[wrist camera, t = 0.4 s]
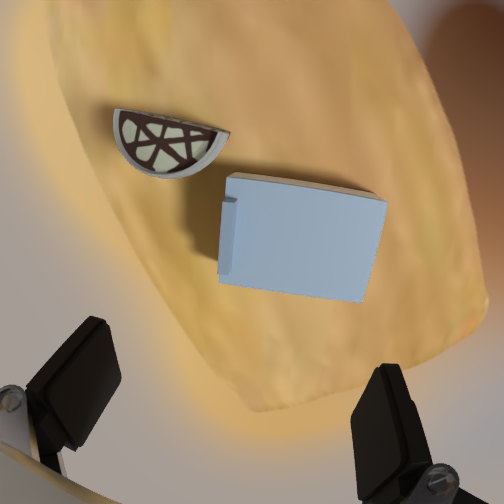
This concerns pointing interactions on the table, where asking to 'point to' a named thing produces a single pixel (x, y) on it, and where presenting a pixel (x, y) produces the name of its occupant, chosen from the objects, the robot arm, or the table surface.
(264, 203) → the lid
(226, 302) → the table surface
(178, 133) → the food container
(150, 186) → the table surface
